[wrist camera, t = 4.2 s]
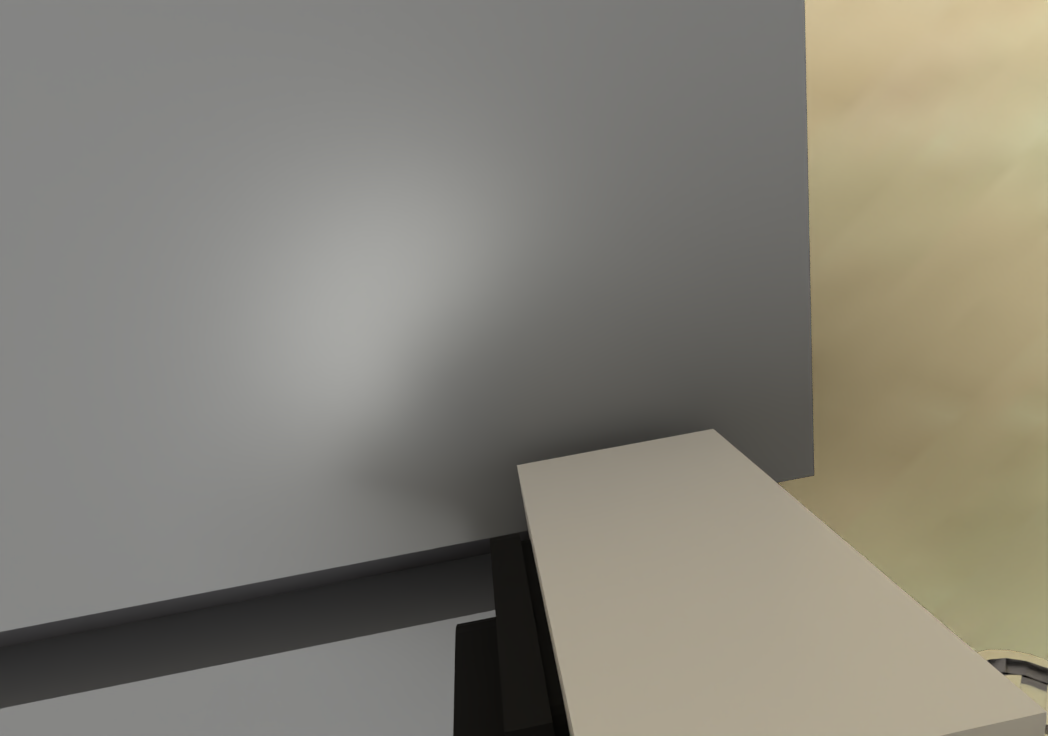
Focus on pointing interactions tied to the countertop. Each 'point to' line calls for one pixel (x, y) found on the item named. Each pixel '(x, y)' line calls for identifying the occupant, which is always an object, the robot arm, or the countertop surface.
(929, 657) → the cap
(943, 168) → the countertop surface
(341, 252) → the fader console
